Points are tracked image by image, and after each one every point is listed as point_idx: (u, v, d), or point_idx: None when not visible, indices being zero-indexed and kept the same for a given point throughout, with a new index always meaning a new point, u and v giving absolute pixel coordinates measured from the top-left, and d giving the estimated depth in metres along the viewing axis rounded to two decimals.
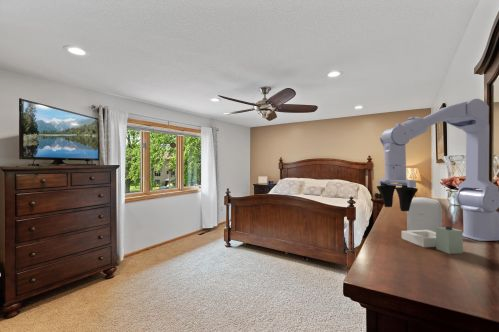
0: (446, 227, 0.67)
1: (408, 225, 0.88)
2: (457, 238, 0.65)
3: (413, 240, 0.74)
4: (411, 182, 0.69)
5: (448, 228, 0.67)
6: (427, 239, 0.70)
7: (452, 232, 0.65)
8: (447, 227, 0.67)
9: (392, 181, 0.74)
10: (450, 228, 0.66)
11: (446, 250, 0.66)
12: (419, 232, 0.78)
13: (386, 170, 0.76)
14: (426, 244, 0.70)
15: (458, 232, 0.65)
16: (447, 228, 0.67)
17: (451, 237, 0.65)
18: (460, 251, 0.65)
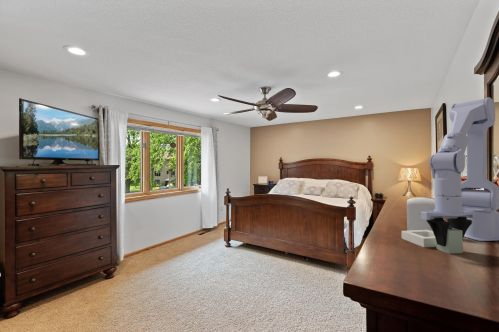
0: None
1: (408, 225, 0.88)
2: (457, 238, 0.65)
3: (413, 240, 0.74)
4: (422, 213, 0.67)
5: (448, 228, 0.67)
6: (427, 239, 0.70)
7: (452, 232, 0.65)
8: None
9: None
10: (450, 228, 0.66)
11: (446, 250, 0.66)
12: (419, 232, 0.78)
13: None
14: (426, 244, 0.70)
15: (458, 232, 0.65)
16: None
17: (451, 237, 0.65)
18: (460, 251, 0.65)
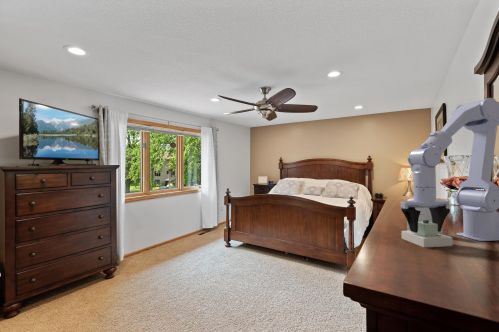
0: (423, 221, 0.75)
1: (408, 225, 0.88)
2: (433, 231, 0.73)
3: (413, 240, 0.74)
4: (401, 203, 0.75)
5: (425, 222, 0.74)
6: (427, 239, 0.70)
7: (428, 226, 0.73)
8: (424, 221, 0.74)
9: None
10: (427, 222, 0.74)
11: None
12: None
13: None
14: (426, 244, 0.70)
15: (434, 225, 0.73)
16: (424, 222, 0.74)
17: (427, 230, 0.73)
18: None
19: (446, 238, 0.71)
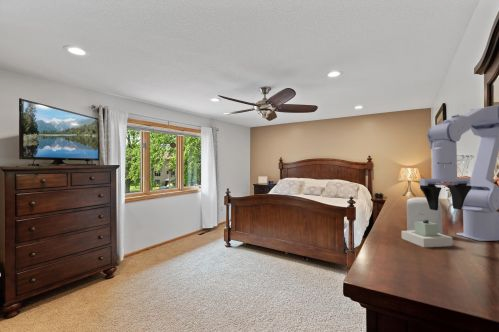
0: (423, 221, 0.75)
1: (408, 225, 0.88)
2: (433, 231, 0.73)
3: (413, 240, 0.74)
4: (421, 180, 0.72)
5: (425, 222, 0.74)
6: (427, 239, 0.70)
7: (428, 226, 0.73)
8: (424, 221, 0.74)
9: None
10: (427, 222, 0.74)
11: None
12: None
13: None
14: (426, 244, 0.70)
15: (434, 225, 0.73)
16: (424, 222, 0.74)
17: (427, 230, 0.73)
18: None
19: (446, 238, 0.71)
